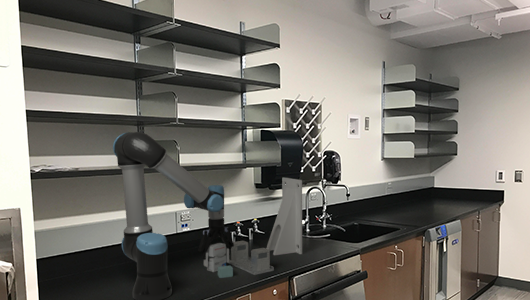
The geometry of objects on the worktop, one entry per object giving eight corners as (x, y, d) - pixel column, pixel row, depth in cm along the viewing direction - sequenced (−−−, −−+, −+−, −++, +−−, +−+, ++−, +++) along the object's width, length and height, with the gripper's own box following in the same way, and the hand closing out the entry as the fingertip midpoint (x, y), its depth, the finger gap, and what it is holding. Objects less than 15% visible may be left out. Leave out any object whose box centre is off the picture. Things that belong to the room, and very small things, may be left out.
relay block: (219, 278, 186) (219, 269, 186) (217, 275, 190) (217, 266, 190) (232, 276, 188) (232, 267, 188) (230, 274, 192) (230, 265, 192)
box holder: (254, 275, 190) (254, 253, 190) (227, 262, 209) (227, 242, 209) (273, 270, 196) (273, 249, 196) (245, 259, 216) (245, 239, 215)
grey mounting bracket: (261, 248, 236) (261, 178, 236) (283, 245, 243) (283, 177, 242) (278, 257, 219) (278, 181, 218) (302, 254, 225) (302, 180, 224)
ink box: (219, 266, 203) (219, 242, 203) (226, 268, 200) (226, 243, 200) (206, 270, 197) (206, 245, 197) (213, 272, 194) (213, 247, 194)
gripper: (197, 221, 188) (198, 270, 189) (241, 216, 202) (241, 261, 202) (190, 219, 194) (190, 266, 195) (233, 214, 208) (233, 258, 208)
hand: (216, 263), depth 199 cm, fingers open, 11 cm apart
